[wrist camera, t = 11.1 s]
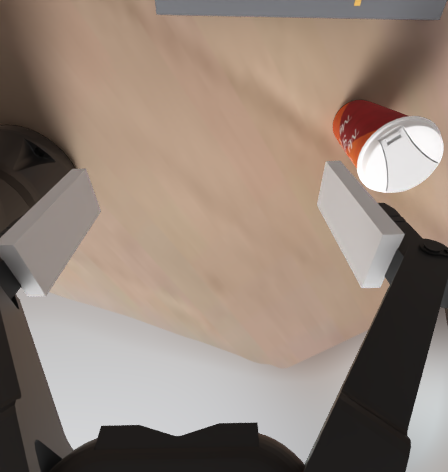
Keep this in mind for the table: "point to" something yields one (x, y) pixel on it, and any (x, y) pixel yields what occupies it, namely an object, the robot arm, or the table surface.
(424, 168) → the paper cup
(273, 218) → the table surface
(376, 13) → the gray slider panel
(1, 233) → the robot arm
